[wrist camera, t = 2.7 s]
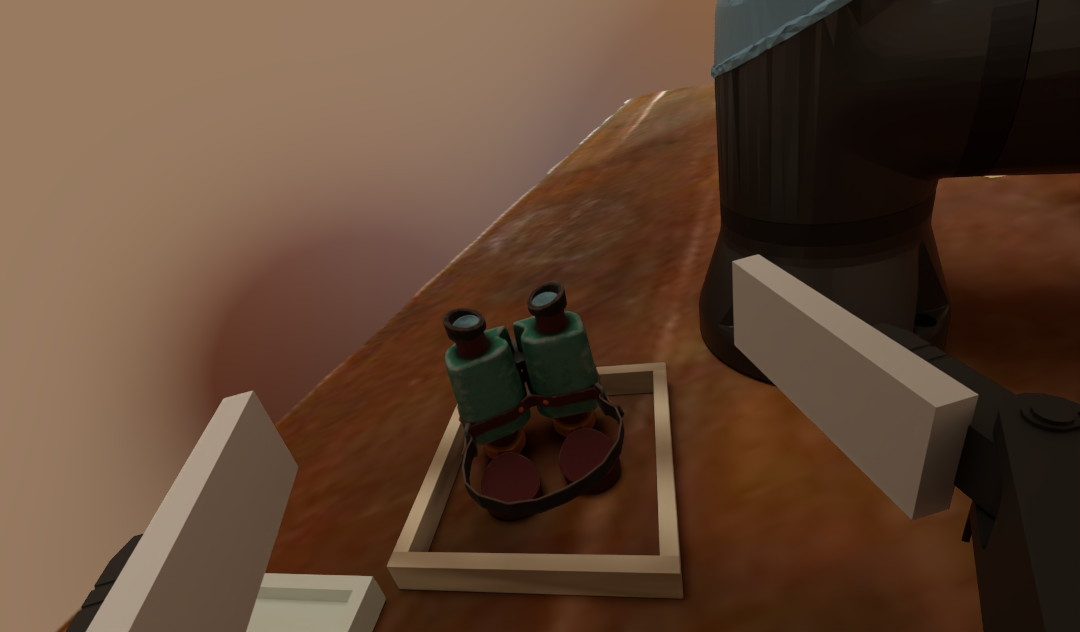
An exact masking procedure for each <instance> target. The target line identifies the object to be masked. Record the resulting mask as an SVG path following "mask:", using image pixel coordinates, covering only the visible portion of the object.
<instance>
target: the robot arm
mask: <svg viewBox="0 0 1080 632" xmlns="http://www.w3.org/2000/svg"><path fill="white" fill-rule="evenodd" d="M711 76H712V77H714V78H715V99H716V122H717V144H718V167H719V189H720V209H721V228H720V233H719V236H718V239H717V243H716V246H715V249H714V252H713V255H712V258H711V262H710V265H709V268H708V271H707V274H706V277H705V281H704V284H703V287H702V290H701V293H700V299H699V316H700V330H701V334H702V337H703V339H704V341H705V343H706V345H707V346H708V347H709V349H710V350H711V351H712V352H713V353H714V354H715V355H716V356H717V357H719V358H720V359H721V360H722V361H724V362H725V363H727V364H728V365H730V366H732V367H733V368H735V369H737V370H739V371H741V372H743V373H745V374H748V375H750V376H753V377H755V378H758V379H761V380H764V381H768V382H771V383H774V384H775V385H776V386H777V387H778V388H779V389H780V390H781V391H782V392H783V393H784V394H785V395H786V396H787V397H788V398H789V399H790V400H791V401H792V402H793V403H794V404H795V405H796V406H797V407H798V408H799V409H800V410H801V411H802V412H803V413H804V414H805V415H806V416H807V417H808V418H809V419H810V420H811V421H812V422H813V423H814V424H815V425H816V426H817V427H818V428H819V429H820V430H821V431H822V432H823V433H824V434H825V435H826V436H827V437H828V438H829V439H830V440H831V441H832V442H833V443H834V444H835V445H836V446H837V447H838V448H839V449H840V450H841V451H842V452H843V453H844V454H845V455H846V456H847V457H848V458H849V459H850V460H851V461H852V462H853V463H855V464H856V465H857V466H858V467H859V468H860V469H861V470H862V471H863V472H864V473H865V474H866V475H867V476H868V477H869V478H870V479H871V480H872V481H873V482H874V483H875V484H876V485H877V486H878V487H879V488H880V489H881V490H882V491H883V492H884V493H885V494H886V495H887V496H888V497H889V498H890V499H891V500H892V501H893V502H894V503H895V504H896V505H897V506H898V507H899V508H900V509H901V510H902V511H903V512H904V513H905V514H906V515H907V516H908V517H909V518H910V519H911V520H914V519H917V518H921V517H924V516H927V515H930V514H934V513H937V512H940V511H943V510H946V509H949V507H950V503H951V499H952V495H953V492H954V488H955V486H956V487H958V488H959V489H960V490H961V491H962V492H963V493H965V494H966V495H967V496H968V497H969V498H971V499H972V500H973V501H972V504H971V507H970V511H969V514H968V518H967V521H966V525H965V528H964V532H963V536H962V541H965V542H969V541H970V538H971V534H972V539H973V548H974V556H975V564H976V572H977V580H978V589H979V597H980V605H981V613H982V622H983V630H984V632H1080V404H1077V403H1075V402H1072V401H1070V400H1067V399H1064V398H1061V397H1056V396H1051V395H1046V394H1034V393H1023V394H1018V395H1015V394H1014V393H1012V392H1010V391H1009V390H1007V389H1005V388H1004V387H1002V386H1000V385H999V384H997V383H995V382H994V381H992V380H990V379H989V378H987V377H985V376H983V375H982V374H980V373H978V372H977V371H975V370H973V369H972V368H970V367H968V366H967V365H965V364H963V363H962V362H960V361H958V360H957V359H955V358H953V357H948V355H947V353H945V352H943V351H942V350H943V347H944V345H945V340H946V335H947V330H948V326H949V321H950V316H951V304H950V299H949V294H948V290H947V286H946V282H945V278H944V274H943V270H942V266H941V262H940V258H939V254H938V250H937V246H936V242H935V238H934V234H933V230H932V226H931V219H932V212H933V206H934V200H935V194H936V188H937V184H938V180H939V179H942V178H951V177H972V176H1003V175H1037V174H1071V173H1080V0H717V4H716V10H715V49H714V65H713V67H712V68H711ZM297 470H298V465H297V464H296V462H295V460H294V459H293V457H292V455H291V453H290V452H289V450H288V448H287V447H286V445H285V443H284V442H283V440H282V438H281V436H280V435H279V433H278V431H277V430H276V428H275V426H274V425H273V423H272V421H271V419H270V418H269V416H268V414H267V413H266V411H265V409H264V407H263V406H262V405H261V402H260V401H259V399H258V397H257V396H256V394H255V392H254V391H249V392H246V393H242V394H239V395H235V396H231V397H227V398H224V399H223V400H222V402H221V404H220V406H219V408H218V409H217V411H216V413H215V414H214V416H213V417H212V419H211V421H210V423H209V424H208V426H207V428H206V429H205V431H204V433H203V434H202V436H201V438H200V439H199V441H198V443H197V444H196V446H195V448H194V450H193V451H192V453H191V455H190V456H189V458H188V460H187V461H186V463H185V465H184V467H183V468H182V470H181V472H180V473H179V475H178V477H177V478H176V480H175V482H174V484H173V485H172V487H171V488H170V490H169V492H168V494H167V495H166V497H165V499H164V500H163V502H162V504H161V505H160V507H159V509H158V510H157V512H156V514H155V516H154V517H153V519H152V521H151V522H150V524H149V526H148V527H147V529H146V531H145V533H144V534H141V535H137V536H134V537H133V538H132V539H131V540H130V541H129V542H128V543H127V544H126V545H125V546H124V547H123V548H122V549H121V550H120V551H119V552H118V553H117V554H116V555H115V556H114V557H113V558H112V559H111V560H110V562H109V563H108V565H107V566H106V568H105V570H104V571H103V573H102V574H101V576H100V578H99V579H98V581H97V583H96V584H95V590H93V591H91V592H90V594H89V595H88V597H87V599H86V600H85V602H84V603H83V605H82V606H81V607H82V611H80V612H78V613H77V614H76V616H75V618H74V619H73V621H72V622H71V624H70V626H69V627H68V629H67V630H66V632H246V631H247V627H248V624H249V621H250V618H251V615H252V612H253V609H254V605H255V602H256V599H257V596H258V593H259V590H260V586H261V583H262V580H263V577H264V574H265V571H266V568H267V564H268V561H269V558H270V555H271V552H272V549H273V546H274V542H275V539H276V536H277V533H278V530H279V527H280V523H281V520H282V517H283V514H284V511H285V508H286V505H287V501H288V498H289V495H290V492H291V489H292V486H293V483H294V479H295V476H296V473H297Z"/></svg>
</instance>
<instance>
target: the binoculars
mask: <svg viewBox="0 0 1080 632" xmlns="http://www.w3.org/2000/svg"><path fill="white" fill-rule="evenodd" d="M527 305H528V309H529V312H530V313H531V314H532V315H533V317H530V318H527V319H523V320H520V321H517V322H514V323H513V329H514V335H515V339H516V340H513V341H511V339H510V336H509V333H508V331H507V329H506V327H505V326H500V327H497V328H493V329H490V330H486V331H485V329H486V322H485V319H484V316H483V315H482V314H481V313H480V312H478V311H476V310H473V309H467V308H458V309H453V310H451V311H448V312H447V313H445V314H444V316H443V318H442V321H443V324H444V326H445V329H446V331H447V334H448V337H449V338H450V340H452V341H454V342H455V344H454V345H452V346H451V347H450V348H449V349H448V350H447V352H446V354H445V362H446V368H447V371H448V375H449V378H450V381H451V384H452V387H453V391H454V394H455V397H456V400H457V403H458V406H457V409H458V413H459V421H460V422H461V423H462V425H463V427H464V435H465V439H464V449H463V452H462V461H463V464H462V471H463V478H464V484H465V486H466V488H467V490H468V493H469V495H470V496H471V497H472V498H473V499H474V500H475V501H476V502H477V503H478V504H479V505H480V506H482V507H483V508H486V509H488V510H489V511H490V512H491V513H492V514H493V515H494V516H496V517H498V518H500V519H504V520H517V519H521V518H523V517H525V516H527V515H529V514H535V513H542V512H545V511H547V510H550V509H552V508H555V507H557V506H560V505H562V504H565V503H567V502H569V501H570V500H572V499H574V498H576V497H578V496H579V495H581V494H583V493H584V494H596V493H599V492H602V491H604V490H606V489H607V488H609V487H610V486H611V485H612V484H613V483H614V482H615V480H616V479H617V477H618V474H619V471H620V460H619V455H620V454H621V450H622V444H623V438H624V427H623V421H622V417H623V415H624V412H623V410H622V409H621V407H620V406H619V405H616V404H614V403H612V402H611V401H610V399H609V397H608V395H607V394H606V393H605V390H604V388H603V387H602V386H601V382H600V378H601V375H600V374H598V371H597V369H596V366H595V364H594V362H593V358H592V354H591V350H590V346H589V342H588V338H587V334H586V330H585V328H584V325H583V323H582V321H581V318H580V317H579V315H578V314H576V313H574V312H570V311H564V309H565V307H566V305H567V301H566V296H565V290H564V286H563V284H562V283H561V282H559V281H549V282H546V283H543V284H541V285H540V286H538V287H537V288H536V289H534V290H533V291H532V292H531V294H530V295H529V297H528V299H527ZM522 369H523V371H522V372H521V370H522ZM524 382H527V386H528V389H529V392H530V394H531V395H529V396H527V391H526V387H525V383H524ZM532 406H537V408H538V411H539V412H540V413H541V414H542V415H544V416H547V417H550V418H552V421H553V425H554V429H555V430H556V431H557V432H558V433H559V434H560V435H562V436H564V437H567V438H566V440H565V441H564V443H563V445H562V448H561V450H560V455H559V465H560V469H561V471H562V473H563V475H564V477H565V478H566V480H567V482H568V484H569V485H568V486H566V487H564V488H563V489H560V490H558V491H555V492H553V493H550V494H548V495H545V496H543V497H541V483H540V475H539V472H538V470H537V468H536V467H535V465H534V464H533V463H532V462H531V461H530V460H529V459H527V458H526V457H524V456H522V455H520V452H521V451H522V450H523V448H524V446H525V444H526V436H525V433H524V430H523V427H524V426H525V425H526V423H527V422H528V421H529V419H530V409H529V408H530V407H532ZM598 406H600V408H601V410H602V411H603V413H604V415H606V416H607V415H609V416H611V417H612V418H614V419H616V420H617V422H618V424H619V431H618V437H617V441H616V442H615V444H614V445H613V443H612V441H611V440H610V439H609V438H608V437H607V436H606V435H604V434H603V433H602V432H599V431H597V430H595V429H592V428H593V426H594V425H595V421H596V417H595V413H594V409H596V408H597V407H598ZM477 444H478V445H483V448H484V451H485V453H486V455H487V456H488V457H490V458H492V459H493V460H492V461H491V462H490V463H489V464H488V466H487V468H486V469H485V471H484V474H483V477H482V482H481V487H482V493H483V495H481V494H478V493H477V492H476V491H475V490H474V489H473V488H472V487H471V486H470V480H469V476H470V470H471V464H472V460H473V458H474V457H476V456H477V455H478V452H477Z"/></svg>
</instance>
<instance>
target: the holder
mask: <svg viewBox="0 0 1080 632" xmlns="http://www.w3.org/2000/svg"><path fill="white" fill-rule="evenodd" d="M596 369H597V371H598V374H600V375H601V378H600V382H601V386H602V387H603V388H604V390H605V393H606V394H607V395H621V394H638V393H654V409H655V435H656V462H657V489H658V515H659V542H660V556H646V555H580V554H514V553H447V552H428V551H429V548H430V545H431V543H432V540H433V537H434V535H435V532H436V529H437V527H438V524H439V521H440V519H441V516H442V513H443V510H444V508H445V505H446V502H447V500H448V497H449V494H450V492H451V489H452V486H453V484H454V481H455V478H456V476H457V473H458V470H459V467H460V465H461V462H462V452H463V449H464V439H465V435H464V427H463V425H462V423H461V422H460V421H459V413H458V409H457V406H458V403H457V406H456V408H455V410H454V413H453V415H452V417H451V420H450V422H449V424H448V426H447V429H446V431H445V433H444V436H443V438H442V440H441V443H440V445H439V447H438V450H437V452H436V454H435V456H434V459H433V461H432V463H431V466H430V468H429V470H428V473H427V475H426V477H425V479H424V482H423V484H422V486H421V489H420V491H419V493H418V496H417V498H416V500H415V503H414V505H413V507H412V509H411V512H410V514H409V516H408V519H407V521H406V523H405V526H404V528H403V530H402V532H401V535H400V537H399V539H398V542H397V544H396V546H395V549H394V551H393V553H392V556H391V558H390V560H389V562H388V565H387V568H388V570H389V572H390V574H391V575H392V577H393V579H394V581H395V582H396V584H397V586H398V587H399V589H414V590H443V591H472V592H502V593H531V594H560V595H590V596H619V597H648V598H678V599H683V585H682V572H681V558H680V544H679V531H678V517H677V503H676V489H675V476H674V462H673V448H672V435H671V421H670V407H669V394H668V381H667V372H666V363H665V362H661V363H647V364H633V365H620V366H606V367H596ZM524 383H525V387H526V391H527V396H529V395H531V394H530V392H529V389H528V386H527V382H524Z"/></svg>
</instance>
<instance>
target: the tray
mask: <svg viewBox="0 0 1080 632" xmlns="http://www.w3.org/2000/svg"><path fill="white" fill-rule="evenodd" d="M385 600H386V597H385V596H384V594H383V592H382V591H381V589H380V587H379V586H378V584H377V582H376V581H375V579H374V577H373V576H340V575H305V574H269V573H265V574H264V577H263V580H262V583H261V586H260V590H259V593H258V596H257V599H256V602H255V605H254V609H253V612H252V615H251V618H250V621H249V624H248V627H247V631H246V632H373V630H374V627H375V625H376V622H377V620H378V617H379V615H380V613H381V610H382V608H383V605H384V603H385Z"/></svg>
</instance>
